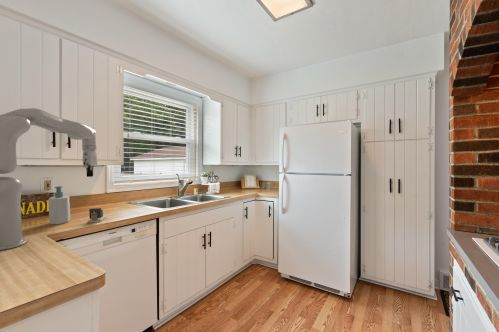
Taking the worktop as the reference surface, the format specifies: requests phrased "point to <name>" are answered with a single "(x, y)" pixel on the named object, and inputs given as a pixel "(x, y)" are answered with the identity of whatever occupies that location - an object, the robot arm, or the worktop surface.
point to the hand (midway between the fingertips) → (89, 176)
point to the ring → (95, 211)
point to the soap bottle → (59, 208)
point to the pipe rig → (96, 217)
